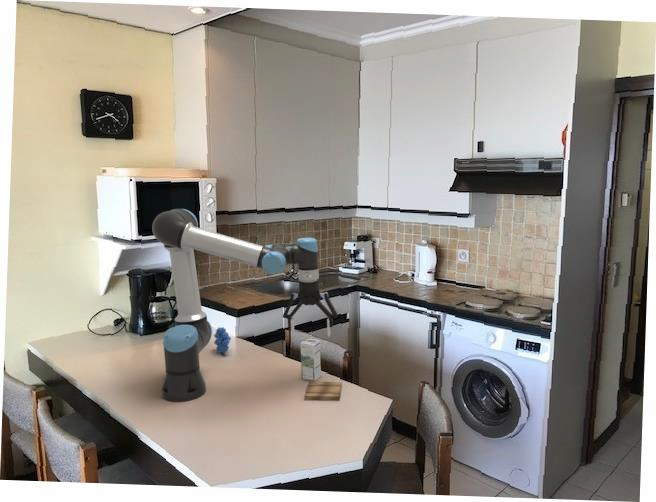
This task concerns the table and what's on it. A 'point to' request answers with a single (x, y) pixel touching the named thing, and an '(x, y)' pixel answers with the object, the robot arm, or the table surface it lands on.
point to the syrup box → (310, 359)
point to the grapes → (222, 340)
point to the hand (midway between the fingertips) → (310, 335)
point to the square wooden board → (323, 391)
